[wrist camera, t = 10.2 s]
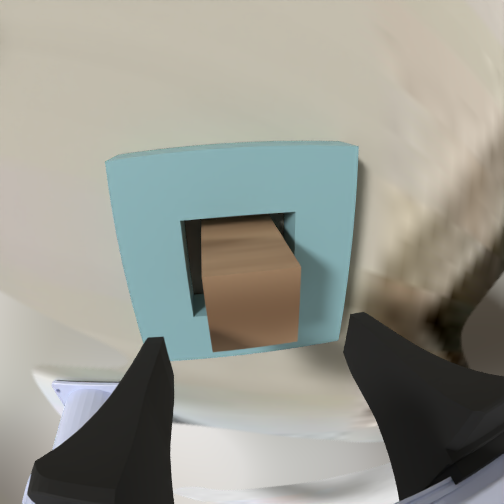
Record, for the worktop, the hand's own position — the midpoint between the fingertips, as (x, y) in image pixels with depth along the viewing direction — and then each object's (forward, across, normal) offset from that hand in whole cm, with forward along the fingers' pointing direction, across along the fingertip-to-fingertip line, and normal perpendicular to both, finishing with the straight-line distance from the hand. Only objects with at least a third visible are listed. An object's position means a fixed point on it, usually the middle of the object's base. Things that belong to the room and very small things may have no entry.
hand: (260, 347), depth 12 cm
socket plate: (+9, 0, 0) cm, 9 cm away
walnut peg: (+9, 0, 0) cm, 9 cm away
